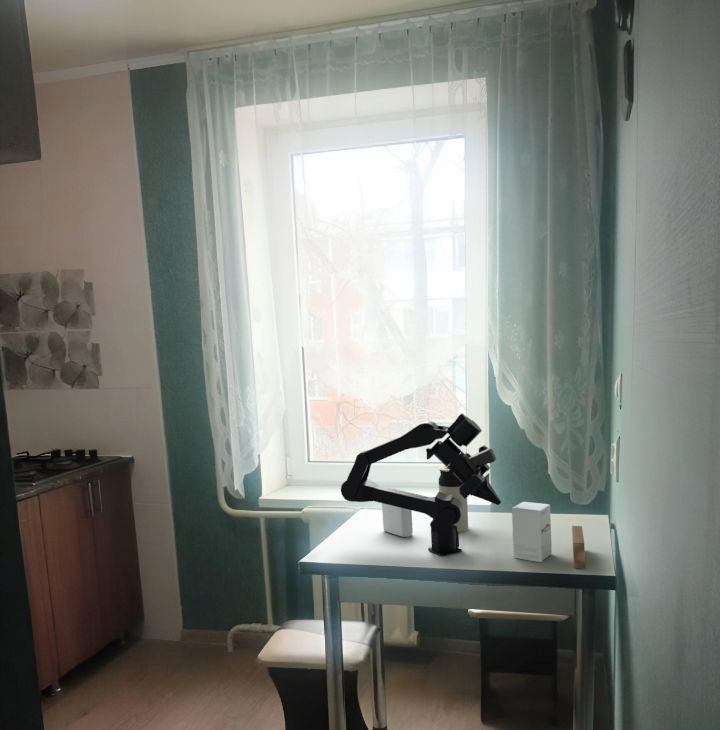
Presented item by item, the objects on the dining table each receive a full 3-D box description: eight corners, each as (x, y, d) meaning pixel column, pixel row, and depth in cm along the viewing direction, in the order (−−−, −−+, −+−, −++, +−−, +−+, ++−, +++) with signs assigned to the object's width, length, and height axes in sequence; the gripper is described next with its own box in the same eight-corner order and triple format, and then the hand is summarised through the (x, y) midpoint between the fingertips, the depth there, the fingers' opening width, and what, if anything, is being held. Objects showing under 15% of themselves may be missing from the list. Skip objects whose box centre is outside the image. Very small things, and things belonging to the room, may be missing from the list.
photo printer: (381, 531, 181) (379, 488, 181) (392, 528, 184) (390, 486, 183) (403, 538, 173) (401, 494, 172) (415, 535, 175) (413, 492, 175)
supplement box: (541, 563, 148) (539, 510, 148) (512, 558, 153) (510, 507, 153) (552, 554, 154) (550, 503, 154) (524, 549, 159) (522, 500, 159)
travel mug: (473, 528, 180) (471, 466, 179) (458, 535, 174) (455, 471, 173) (450, 524, 185) (448, 464, 185) (435, 530, 179) (432, 468, 179)
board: (574, 568, 144) (573, 542, 144) (572, 549, 157) (572, 525, 157) (585, 568, 143) (584, 543, 143) (582, 549, 157) (582, 526, 157)
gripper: (471, 442, 148) (520, 490, 145) (480, 432, 166) (524, 474, 163) (439, 474, 151) (487, 521, 148) (452, 461, 168) (495, 502, 165)
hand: (499, 503), depth 156 cm, fingers closed
